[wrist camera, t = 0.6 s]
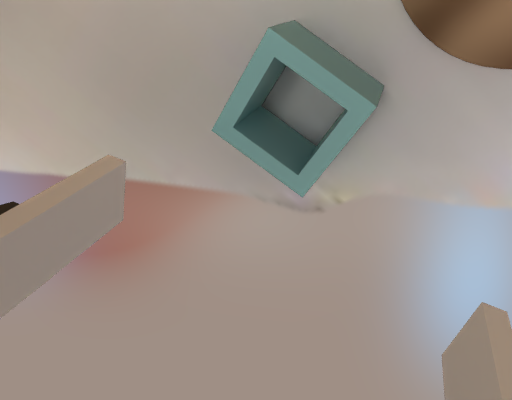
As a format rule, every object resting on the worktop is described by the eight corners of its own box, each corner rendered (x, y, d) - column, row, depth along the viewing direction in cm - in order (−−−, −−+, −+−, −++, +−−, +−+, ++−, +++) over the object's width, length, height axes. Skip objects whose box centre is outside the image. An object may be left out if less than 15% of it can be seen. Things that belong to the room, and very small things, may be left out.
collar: (242, 108, 33) (211, 130, 28) (294, 20, 29) (268, 27, 24) (319, 165, 33) (302, 197, 28) (384, 85, 29) (376, 106, 24)
